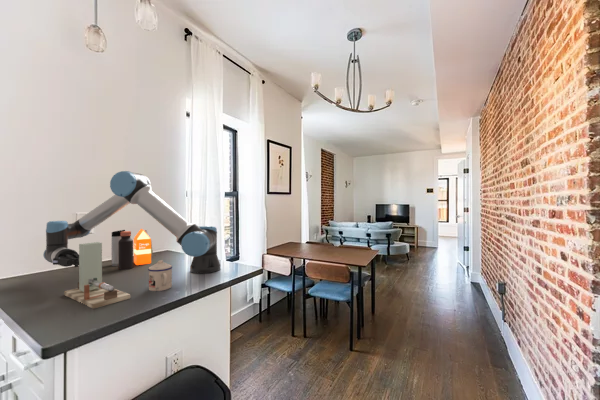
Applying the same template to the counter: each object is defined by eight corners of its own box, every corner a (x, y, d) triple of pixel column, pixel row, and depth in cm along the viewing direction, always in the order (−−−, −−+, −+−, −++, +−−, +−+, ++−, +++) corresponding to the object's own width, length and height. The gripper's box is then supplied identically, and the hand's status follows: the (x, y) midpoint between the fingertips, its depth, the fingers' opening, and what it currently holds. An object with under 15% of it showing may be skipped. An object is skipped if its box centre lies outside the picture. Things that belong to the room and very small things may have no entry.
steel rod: (80, 282, 113) (80, 276, 113) (86, 281, 115) (86, 275, 115) (107, 292, 100) (107, 286, 100) (114, 291, 102) (114, 284, 102)
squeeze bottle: (155, 257, 182) (155, 229, 182) (147, 259, 174) (147, 230, 174) (143, 257, 183) (143, 229, 183) (135, 259, 175) (135, 230, 175)
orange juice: (148, 260, 171) (148, 228, 171) (151, 263, 164) (151, 229, 164) (133, 262, 166) (133, 229, 166) (136, 265, 159) (136, 230, 159)
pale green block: (79, 290, 109) (79, 244, 109) (97, 286, 114) (97, 242, 114) (83, 291, 106) (83, 245, 106) (102, 287, 112) (101, 242, 112)
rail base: (64, 295, 109) (64, 278, 109) (99, 286, 119) (99, 271, 119) (93, 308, 95) (93, 289, 95) (130, 298, 105) (130, 281, 105)
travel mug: (123, 265, 159) (123, 230, 159) (110, 266, 157) (110, 230, 157) (126, 263, 165) (126, 229, 165) (113, 264, 162) (113, 229, 162)
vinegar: (136, 267, 155) (136, 231, 155) (125, 270, 148) (125, 232, 148) (126, 266, 156) (126, 230, 156) (115, 269, 150) (115, 232, 150)
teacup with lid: (145, 288, 118) (145, 260, 118) (168, 283, 124) (168, 257, 124) (153, 295, 109) (153, 265, 109) (177, 290, 115) (177, 261, 115)
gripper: (82, 262, 130) (106, 269, 117) (45, 268, 119) (67, 276, 106) (82, 246, 130) (106, 251, 117) (45, 250, 119) (67, 256, 106)
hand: (87, 263), depth 111 cm, fingers closed
